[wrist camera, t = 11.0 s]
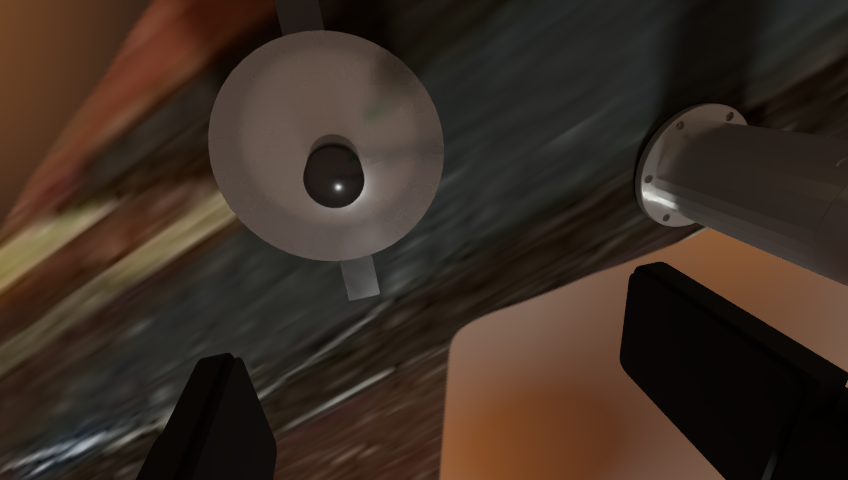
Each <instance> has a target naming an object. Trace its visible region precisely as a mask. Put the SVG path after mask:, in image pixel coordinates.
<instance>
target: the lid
mask: <svg viewBox="0 0 848 480" xmlns="http://www.w3.org/2000/svg"><path fill="white" fill-rule="evenodd" d="M208 138H209V155H210V161H211V166H212V170H213V173H214V176H215V180H216V182H217V184H218V186H219V189H220V191H221V193H222V195H223V197H224V198H225V200H226V202H227V203H228V205H229V206H230V208H231V209H232V210H233V212H234V213H235V214H236V215H237V217H238V218H239V219H240V220H241V221H242V222H243V223H244V224H245V225H246V226H247V227H248V228H249V229H250V230H251V231H252V232H254V233H255V234H256V235H258V236H259V237H260V238H262V239H263V240H265V241H266V242H268V243H270V244H271V245H273V246H275V247H277V248H279V249H281V250H283V251H286V252H288V253H291V254H294V255H297V256H300V257H304V258H309V259H314V260H324V261H342V260H350V259H356V258H360V257H364V256H368V255H371V254H373V253H376V252H378V251H381V250H383V249H385V248H386V247H388V246H390V245H392V244H394V243H395V242H396V241H398V240H399V239H401V238H402V237H403V236H405V235H406V234H407V233H408V232H409V231H410V230H411V229H412V228H413V227H414V226H415V225H416V224H417V223H418V222H419V221H420V219H421V218H422V217H423V215H424V214H425V212H426V211H427V209H428V208H429V206H430V204H431V202H432V200H433V198H434V196H435V194H436V191H437V189H438V186H439V183H440V179H441V174H442V169H443V160H444V143H443V135H442V129H441V124H440V121H439V118H438V114H437V111H436V109H435V107H434V104H433V102H432V100H431V98H430V96H429V94H428V93H427V91H426V89H425V88H424V86H423V84H422V83H421V82H420V81H419V79H418V78H417V77H416V76H415V74H414V73H413V72H412V71H411V70H410V69H409V68H408V67H407V66H406V65H405V64H404V63H403V62H402V61H401V60H400V59H398V58H397V57H396V56H394V55H393V54H391V53H390V52H389V51H387V50H386V49H384V48H382V47H380V46H378V45H377V44H375V43H373V42H371V41H368V40H366V39H363V38H360V37H358V36H355V35H351V34H346V33H342V32H335V31H324V30H318V31H303V32H299V33H294V34H289V35H286V36H283V37H280V38H277V39H275V40H272V41H270V42H268V43H266V44H265V45H263V46H261V47H259V48H257V49H256V50H255V51H253V52H252V53H251V54H250V55H248V56H247V57H246V58H244V59H243V60H242V61H241V62H240V63H239V64H238V66H237V67H236V68H235V69H234V70H233V71H232V72H231V74H230V75H229V76H228V78H227V79H226V81H225V82H224V84H223V85H222V87H221V89H220V92H219V94H218V96H217V98H216V100H215V103H214V107H213V110H212V113H211V118H210V125H209V132H208Z"/></svg>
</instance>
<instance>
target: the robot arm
mask: <svg viewBox="0 0 848 480" xmlns="http://www.w3.org/2000/svg"><path fill="white" fill-rule="evenodd" d="M635 193H636V197H637V201H638V203H639V205H640V207H641V209H642V211H643V212H644V213H645V214H646V215H647V216H648V217H649V218H651V219H652V220H654V221H656V222H658V223H660V224H663V225H667V226H672V227H674V226H685V225H689V224H693V223H695V222H697V223H699V224H702V225H704V226H706V227H709V228H711V229H714V230H716V231H718V232H721V233H723V234H725V235H728V236H730V237H732V238H735V239H737V240H740V241H742V242H744V243H746V244H749V245H751V246H753V247H756V248H758V249H761V250H763V251H765V252H767V253H770V254H772V255H775V256H777V257H779V258H782V259H784V260H786V261H789V262H791V263H793V264H796V265H798V266H800V267H803V268H805V269H808V270H810V271H812V272H814V273H817V274H819V275H822V276H824V277H827V278H829V279H831V280H834V281H836V282H839V283H841V284H843V285H846V286H848V139H841V138H834V137H827V136H820V135H813V134H806V133H798V132H791V131H784V130H777V129H770V128H763V127H755V126H748V125H747V123H746V121H745V119H744V118H743V116H742V115H741V114H740V113H739V112H738V111H737V110H736V109H734V108H732V107H730V106H727V105H722V104H714V103H703V104H698V105H694V106H691V107H688V108H686V109H684V110H682V111H680V112H679V113H677V114H675V115H674V116H672V117H671V118H670V119H669V120H668V121H666V122H665V123H664V124H663V125H662V126H661V127H660V128H659V129H658V130H657V132H656V133H655V134H654V135H653V137H652V138H651V140H650V141H649V143H648V144H647V146H646V147H645V150H644V152H643V154H642V156H641V158H640V161H639V164H638V167H637V171H636V178H635ZM620 363H621V365H622V367H623V369H624V371H625V372H626V373H627V374H628V375H629V376H630V377H631V379H633V381H634V382H635V383H636V384H637V385H638V386H639V387H640V388H641V389H642V390H643V391H644V392H645V394H646V395H647V396H648V397H649V398H650V399H651V400H652V401H653V402H654V403H655V404H656V405H657V406H658V408H659V409H660V410H661V411H662V412H663V413H664V414H665V415H666V416H667V417H668V418H669V419H670V420H671V422H672V423H673V424H674V425H675V426H676V427H677V428H678V429H679V430H680V431H681V432H682V433H683V434H684V435H685V437H686V438H687V439H688V440H689V441H690V442H691V443H692V444H693V445H694V446H695V447H696V448H697V449H698V450H699V452H700V453H701V454H702V455H703V456H704V457H705V458H706V459H707V460H708V461H709V462H710V463H711V464H712V465H713V467H714V468H715V469H716V470H717V471H718V472H719V473H720V474H721V475H722V476H723V477H724V478H725V479H726V480H848V388H846V387H845V385H846V383H847V381H848V372H846V371H844V370H843V369H841V368H839V367H838V366H836V365H834V364H833V363H831V362H829V361H828V360H826V359H824V358H823V357H821V356H819V355H818V354H816V353H814V352H813V351H811V350H809V349H808V348H806V347H804V346H803V345H801V344H799V343H798V342H796V341H794V340H793V339H791V338H789V337H788V336H786V335H784V334H783V333H781V332H779V331H778V330H776V329H775V328H773V327H771V326H770V325H768V324H766V323H765V322H763V321H761V320H760V319H758V318H756V317H755V316H753V315H751V314H750V313H748V312H746V311H745V310H743V309H741V308H740V307H738V306H736V305H735V304H733V303H731V302H730V301H728V300H726V299H725V298H723V297H721V296H720V295H718V294H716V293H715V292H713V291H711V290H710V289H708V288H706V287H705V286H703V285H701V284H700V283H698V282H696V281H695V280H693V279H691V278H690V277H688V276H687V275H685V274H683V273H682V272H680V271H678V270H677V269H675V268H673V267H672V266H670V265H668V264H667V263H664V262H655V263H651V264H646V265H641V266H638V267H636V269H635V271H634V273H633V274H631V276H630V278H629V283H628V292H627V300H626V308H625V317H624V325H623V333H622V341H621V349H620ZM276 456H277V448H276V442H275V439H274V436H273V434H272V431H271V429H270V426H269V424H268V421H267V419H266V416H265V414H264V411H263V409H262V407H261V404H260V402H259V399H258V397H257V394H256V392H255V389H254V387H253V384H252V382H251V379H250V377H249V375H248V372H247V370H246V367H245V365H244V362H243V360H242V359H241V358H239V357H238V358H234V357H233V355H232V354H230V353H225V354H220V355H215V356H210V357H206V358H202V359H200V360H199V361H198V363H197V364H196V366H195V368H194V370H193V372H192V374H191V376H190V378H189V380H188V382H187V384H186V386H185V388H184V390H183V392H182V395H181V397H180V399H179V401H178V403H177V405H176V407H175V409H174V411H173V413H172V415H171V417H170V419H169V421H168V423H167V425H166V427H165V429H164V431H163V433H162V434H161V435H159V436H158V438H157V439H156V441H155V442H154V444H153V446H152V448H151V450H150V452H149V454H148V456H147V458H146V460H145V462H144V464H143V466H142V468H141V470H140V472H139V474H138V476H137V478H136V480H273V475H274V469H275V463H276Z"/></svg>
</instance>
